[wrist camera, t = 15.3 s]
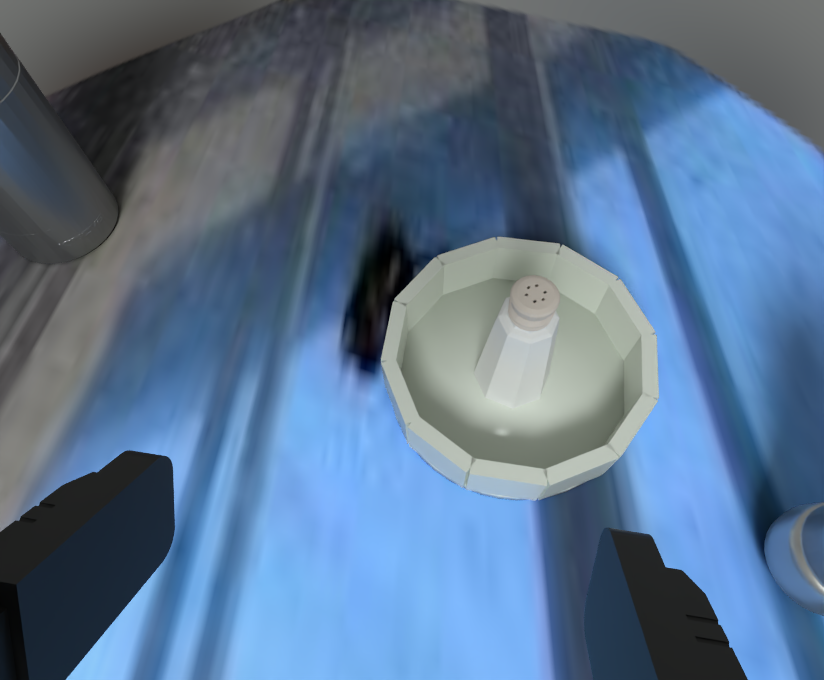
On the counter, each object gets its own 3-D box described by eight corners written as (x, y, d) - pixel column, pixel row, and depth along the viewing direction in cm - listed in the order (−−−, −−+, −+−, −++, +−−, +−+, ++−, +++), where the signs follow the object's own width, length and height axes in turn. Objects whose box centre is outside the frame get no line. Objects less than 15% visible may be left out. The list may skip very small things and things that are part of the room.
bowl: (339, 395, 43) (329, 366, 38) (483, 241, 49) (488, 201, 45) (545, 557, 37) (561, 546, 33) (677, 360, 44) (706, 328, 39)
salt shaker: (458, 373, 42) (467, 292, 33) (508, 328, 44) (531, 238, 34) (513, 424, 40) (540, 354, 31) (563, 375, 42) (605, 294, 32)
